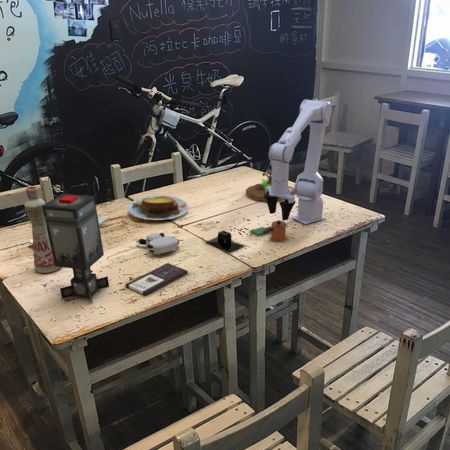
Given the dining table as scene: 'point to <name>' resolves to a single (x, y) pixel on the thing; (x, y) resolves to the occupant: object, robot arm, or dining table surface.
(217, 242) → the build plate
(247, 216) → the dining table surface
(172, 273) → the chocolate bar
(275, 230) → the pot
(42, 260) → the bottle
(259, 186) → the plant
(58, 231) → the explosive device
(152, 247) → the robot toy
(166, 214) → the food on plate
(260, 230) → the spatula
